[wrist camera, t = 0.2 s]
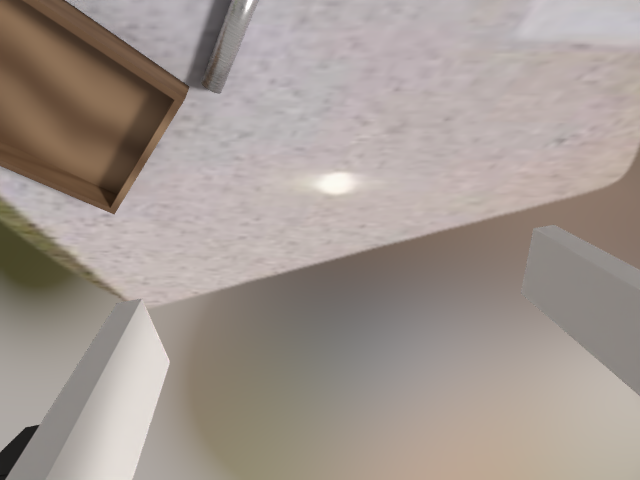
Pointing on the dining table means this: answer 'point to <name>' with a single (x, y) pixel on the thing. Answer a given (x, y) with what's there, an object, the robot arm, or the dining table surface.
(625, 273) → the robot arm
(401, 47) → the dining table surface
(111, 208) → the walnut tray
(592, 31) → the dining table surface
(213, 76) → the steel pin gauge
